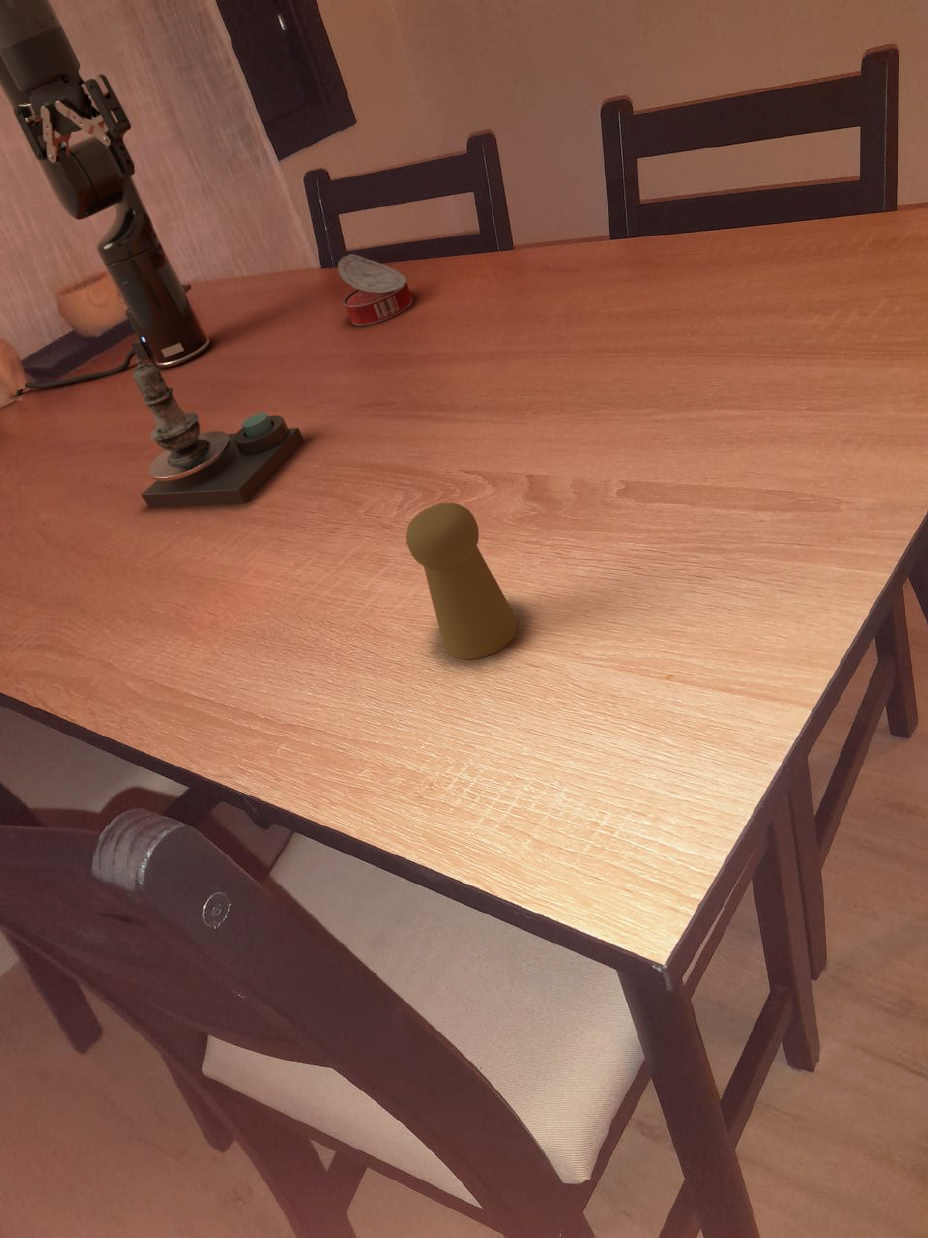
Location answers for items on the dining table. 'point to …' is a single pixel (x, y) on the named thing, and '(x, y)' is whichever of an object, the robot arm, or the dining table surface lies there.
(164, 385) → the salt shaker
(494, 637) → the pawn piece
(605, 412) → the dining table surface
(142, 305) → the robot arm
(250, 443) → the scale
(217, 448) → the scale pan
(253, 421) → the tare button
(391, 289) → the canned food
